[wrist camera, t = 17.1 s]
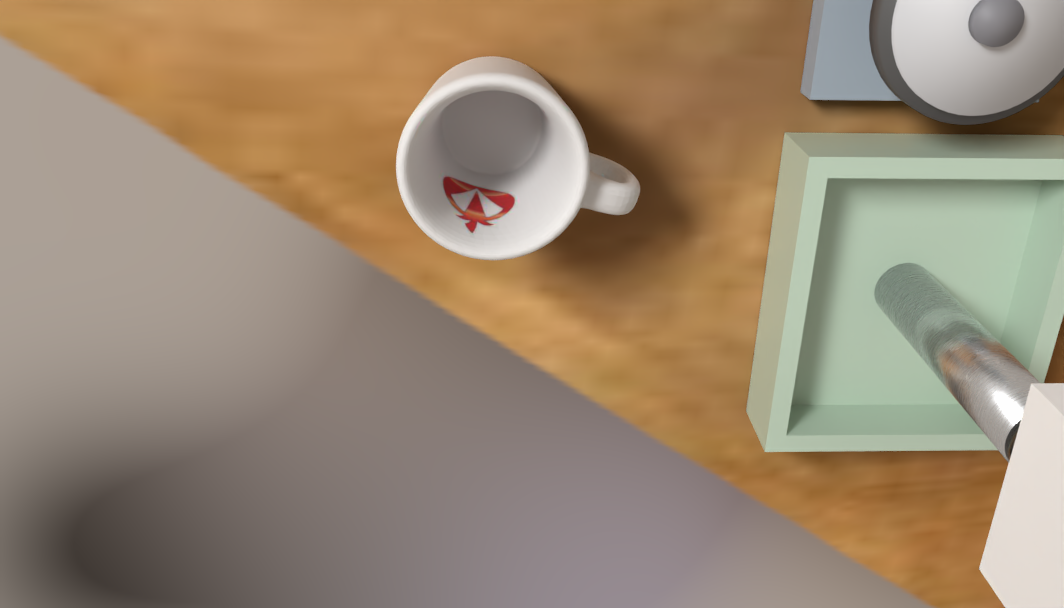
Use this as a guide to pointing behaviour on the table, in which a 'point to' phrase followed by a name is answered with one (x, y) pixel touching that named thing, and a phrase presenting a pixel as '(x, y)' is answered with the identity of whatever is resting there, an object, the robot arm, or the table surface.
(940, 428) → the tray
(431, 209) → the cup
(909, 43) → the block
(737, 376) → the table surface
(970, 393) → the dark capped cylinder
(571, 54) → the table surface
